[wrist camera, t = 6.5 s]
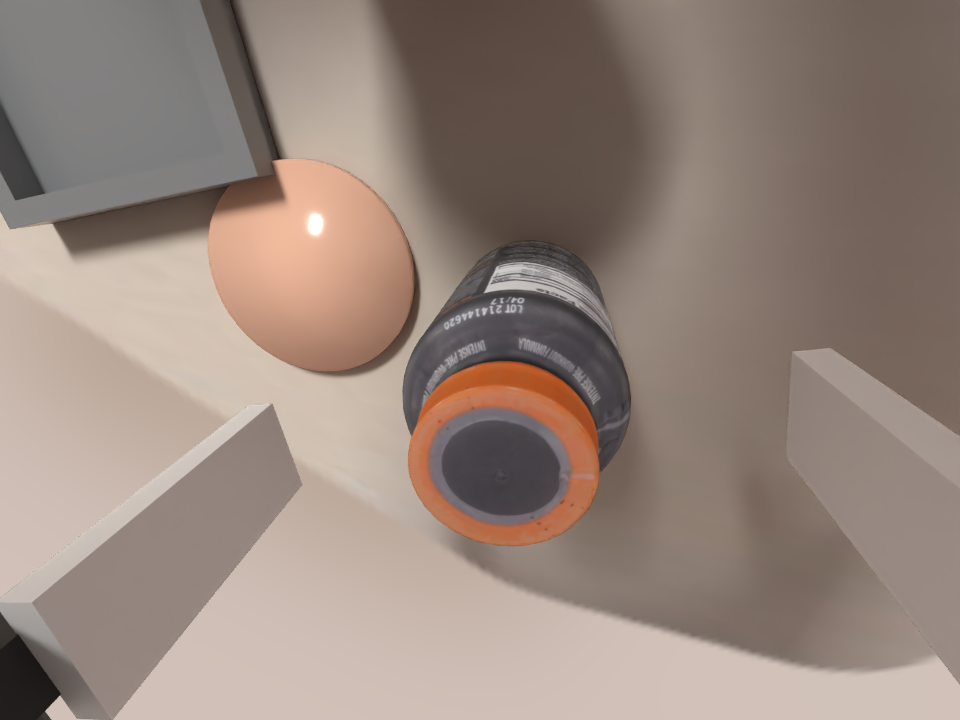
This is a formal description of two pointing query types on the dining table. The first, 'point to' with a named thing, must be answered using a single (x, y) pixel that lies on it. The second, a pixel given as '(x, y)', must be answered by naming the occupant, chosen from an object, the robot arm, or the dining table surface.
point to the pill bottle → (516, 398)
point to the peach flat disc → (312, 265)
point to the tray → (123, 106)
